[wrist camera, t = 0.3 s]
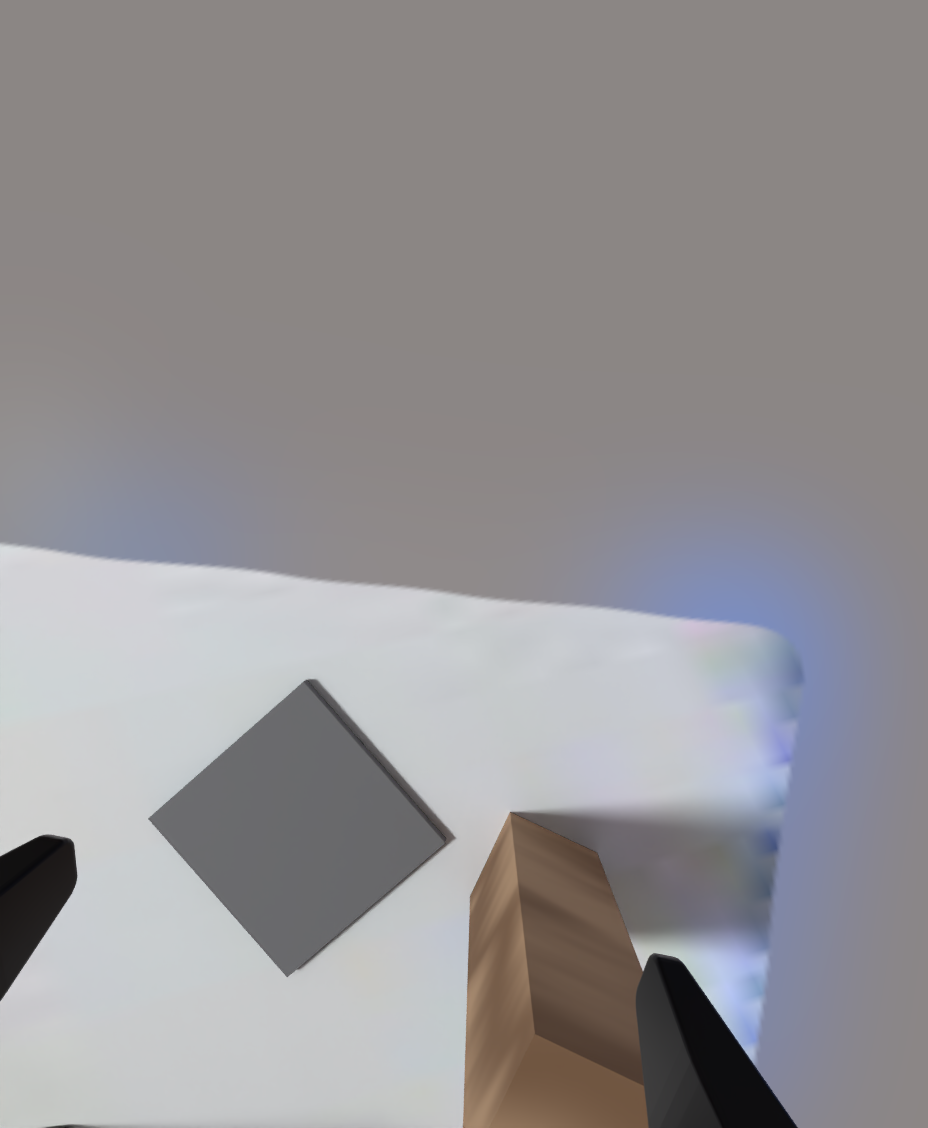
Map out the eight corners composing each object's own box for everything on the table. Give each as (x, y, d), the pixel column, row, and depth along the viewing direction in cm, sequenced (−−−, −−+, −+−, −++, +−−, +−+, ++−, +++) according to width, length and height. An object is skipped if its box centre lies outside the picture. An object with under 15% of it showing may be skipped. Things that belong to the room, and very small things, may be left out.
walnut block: (556, 937, 24) (620, 1262, 13) (470, 896, 24) (461, 1185, 13) (597, 852, 24) (695, 1110, 13) (510, 812, 24) (534, 1033, 13)
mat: (290, 970, 25) (287, 977, 24) (153, 814, 25) (148, 818, 24) (445, 838, 24) (445, 843, 24) (306, 679, 24) (303, 681, 24)
